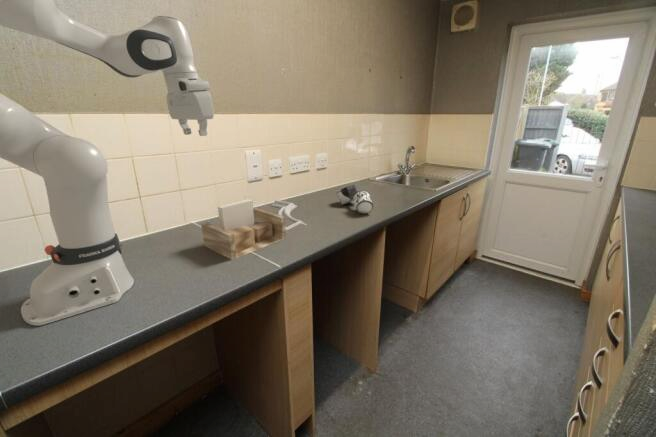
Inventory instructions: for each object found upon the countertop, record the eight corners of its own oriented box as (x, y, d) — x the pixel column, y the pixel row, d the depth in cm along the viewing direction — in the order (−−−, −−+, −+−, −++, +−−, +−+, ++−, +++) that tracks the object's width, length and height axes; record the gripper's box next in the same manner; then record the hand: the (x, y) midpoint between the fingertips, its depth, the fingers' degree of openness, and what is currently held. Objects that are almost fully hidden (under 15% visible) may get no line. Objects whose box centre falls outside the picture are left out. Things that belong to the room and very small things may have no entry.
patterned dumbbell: (378, 214, 139) (379, 193, 136) (359, 217, 136) (360, 195, 132) (351, 200, 161) (351, 181, 158) (334, 202, 157) (334, 183, 154)
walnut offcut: (258, 242, 105) (257, 229, 104) (251, 239, 108) (249, 226, 106) (272, 237, 110) (272, 224, 109) (265, 234, 113) (264, 221, 111)
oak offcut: (234, 253, 98) (232, 236, 96) (225, 249, 101) (223, 232, 99) (255, 245, 103) (253, 228, 101) (246, 241, 106) (244, 225, 104)
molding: (270, 205, 154) (270, 199, 153) (294, 203, 157) (294, 197, 156) (278, 237, 116) (278, 230, 115) (310, 234, 118) (310, 227, 117)
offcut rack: (232, 264, 94) (229, 235, 91) (204, 249, 104) (201, 223, 101) (285, 241, 110) (284, 216, 107) (257, 231, 120) (255, 207, 117)
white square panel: (226, 245, 104) (222, 208, 99) (222, 243, 105) (217, 206, 101) (255, 234, 112) (252, 200, 108) (251, 232, 114) (248, 199, 110)
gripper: (156, 87, 92) (169, 135, 97) (190, 83, 79) (203, 138, 85) (177, 86, 96) (188, 132, 102) (212, 82, 83) (223, 134, 89)
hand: (195, 135), depth 93 cm, fingers open, 8 cm apart
